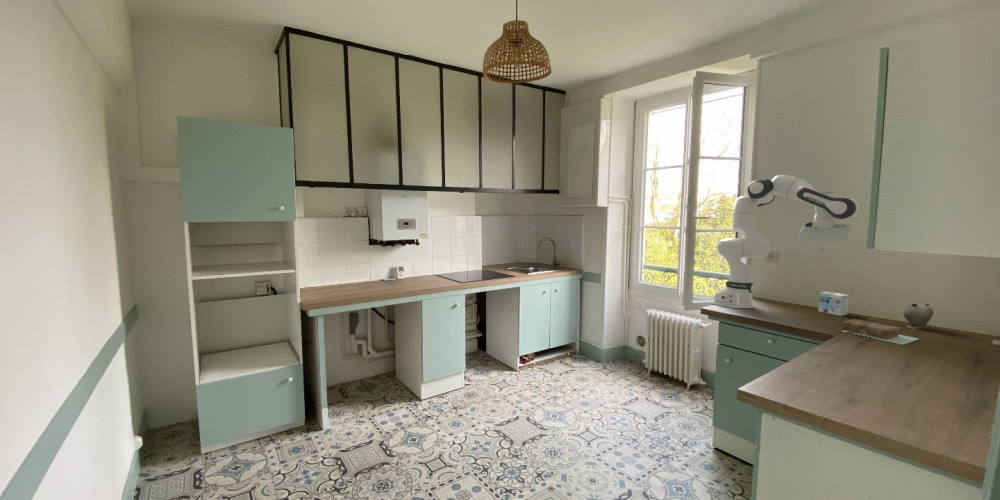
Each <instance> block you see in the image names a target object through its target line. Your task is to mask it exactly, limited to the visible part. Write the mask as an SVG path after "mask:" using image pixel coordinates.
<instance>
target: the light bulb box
mask: <svg viewBox="0 0 1000 500" xmlns="http://www.w3.org/2000/svg"><path fill="white" fill-rule="evenodd" d="M849 299H850V295H849V294H845V293H840V292H839V293H838V292H832V291H821V292H820V293H819V302H818V309H817V310H818V312H820V313H825V314H829V315H834V316H839V317H842V316H847V315H848V310H849V309H848V308H849V301H850V300H849Z"/></svg>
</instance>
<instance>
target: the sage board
mask: <svg viewBox="0 0 1000 500" xmlns="http://www.w3.org/2000/svg"><path fill="white" fill-rule="evenodd" d="M841 332H842V333H847V332H849V331H845V330H843V329H842V330H841ZM853 333H854V332H853ZM856 334H858V335H857V336H860V335H862V337H865V336H867V337H866V338H869V337H871V338H870V339H873V340H874V339H875V340H879V341H883V342H887V343H893V344H897V345H901V346H902V345H903V346H904V345H906V344H910V343H912V342H915V341H919V340H920V338H917V337H914V336H908V335H903V334H898V337H895V338H892V339H889V340H886V339H882V338H877V337H872V336H868V335H863V334H859V333H854V334H853V335H856Z"/></svg>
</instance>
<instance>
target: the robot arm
mask: <svg viewBox="0 0 1000 500" xmlns="http://www.w3.org/2000/svg"><path fill="white" fill-rule="evenodd" d="M746 191H747V194H746V195H741V196H739V197H737V198H736V200H735V202H734V206H733V212H732V214H733V215H732V228H733V230H734V231H736V232H738V233H739V234H742V235H743V237H741V238H738V237H736V238H735V237H729V238H722V239H720V240H719V242H718V243H717V245H716V247H717V248H716V249H717V252H718V254H719V255H720V256H722V257H723V258H724V259H725V260H726V262H727V264H728V266H729V274H730V275H729V279H728V280H727V281H726V282H725V287H723V288H721V289H720V290H718V291H716V292H715V295H714V298H712V299H711V300H709V304H711V305H717V306H722V307H726V308H731V309H753V308H755V305H754V300H753V291H754V285H753V284H754V282H753V276H754V275H753V273H754V269H753V268H752V266H751V265H749V264H748V263H745V262H743V261H742V258H747V259H759V258H766V257H767V256H768V254H770V251H771V245H770V244H769V242H768V240H766V239H765V238H763V237H762V236H761V235H760V234H759V232H758V230H757V226H756V211H757V209H756V208H757V207H762V206H765V205H769V204H771V203H772V202H774V200H775V198H776V195H778V196H783V197H786V198H788V199H790V200H793V201H797V202H805V203H809V204H811V205H813V206H814V216H813V220H811V221H808V222H804V223H802V228H801V229H800V231H799V234H798V240H799V241H800V242H813V243H814V242H815V244H816V246H817V248H818V251H819V252H820V251H821V252H827V247H828V246H829V245H830V243H834V244H835V243H838V244H840V243H841V244H847V243H848V242H849V241H850V240H849V238H850V237H849V233H850V232H851V227H850V226H849V225H847V224H841V223H840V224H837V223H836V220H837V219H839V220H844V219H848V218H849V219H850V218H854V217H856V216H858V214H860V213H861V212H862V205H861V202H860V201H858V200H856V199H854V198H851V197H846V196H844V195H840V194H839V193H837V192H835V191H830V192H820V191H817V190H816V189H814V186H813V185H812V184H811V183H810V182H807V181H806V180H803V179H801V178H798V177H795V176H792V175H787V174H776V175H775V176H774V177H773V178H772V179H767V178H766V179H756V180H753V181H751V182H749V184H748V185H747V189H746ZM821 243H825V246H824V247H823V246H821V245H820V244H821Z"/></svg>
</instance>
